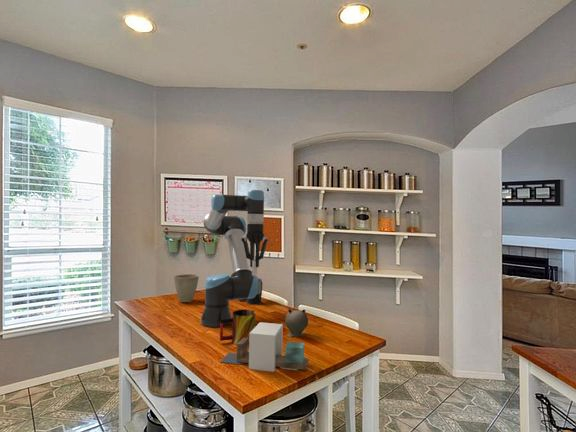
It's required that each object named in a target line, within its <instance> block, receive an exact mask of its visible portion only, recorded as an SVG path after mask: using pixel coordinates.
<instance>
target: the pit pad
mask: <svg viewBox="0 0 576 432" xmlns="http://www.w3.org/2000/svg"><path fill="white" fill-rule="evenodd" d="M219 363H221V364H222V363H223V364H230V365H239V366H242V365H243V364H244V363H243V362H237V352H235V353H234V352H228V353H227V354H226V355H225V356H224V357H223V358H222V359H221V360H220V361H219Z"/></svg>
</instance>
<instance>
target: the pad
mask: <svg viewBox="0 0 576 432" xmlns="http://www.w3.org/2000/svg"><path fill="white" fill-rule="evenodd" d="M279 368H280V369H283V370H290V371H291V370H293V371H298V370H299V369H295V368H286V367H279Z"/></svg>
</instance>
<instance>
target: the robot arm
mask: <svg viewBox="0 0 576 432" xmlns="http://www.w3.org/2000/svg"><path fill="white" fill-rule="evenodd" d="M210 200H211V201H210V203H211V204H210V205H211V206H210V207H211V210H210V212H209V214H207V215H205V217H204V219H203V227H204V228H205V230H206V231H207V232H208V233H210V234H212V235H215V236H224V239H225V240H226V241H227V243H228V244H227V245H228V249H229V256H230V263H231V269H232V273H231V274H230V275H229V274H227V273H224V274H223V273H219V274H214V275H210V276H208V277H207V278H206V280H205V284H204V289H205V291H204V309H203V311H202V315H201V317H200V324H201V325H202V326H204V327H208V328H220V324H221V319H227V318H233V315H232V313H231V310H230V307H229V303H230V301H238V300H239V301H240V300H241V299H251V298H254V297H255V296H256V294H257V290H258V278H259V277H258V276H257V274H258V268H259V266H260V260H262V259H263V258H264V255H265V252H266V247H267V244H268V242H269V240H270V239H269V238H267V237H266V236H265V234H264V224H263V223H264V221H265V220H264V219H265V217H264V212H265V211H264V209H265V192H264V190H261V189H250V190H248V191H247V195H236V194H235V195H234V194H233V195H232V194H222V193H220V194H219V193H218V194H213V195H212V197H211V199H210ZM229 211H230V212H247V215H246V216H247V218H246V219H247V223H246V220H245V219H244V217H242V215H241V216H239V215H227V213H228V212H229ZM262 241H263V242H262ZM248 242H249V243H248ZM261 242H262V245H261ZM260 245H261V246H260ZM249 246H250V247H249ZM260 248H261V249H260ZM248 260H249V264H250V265H249V264H248ZM249 266H250V268H251V269H249ZM230 324H231V323H223V327H224V326H228V325H230Z"/></svg>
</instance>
